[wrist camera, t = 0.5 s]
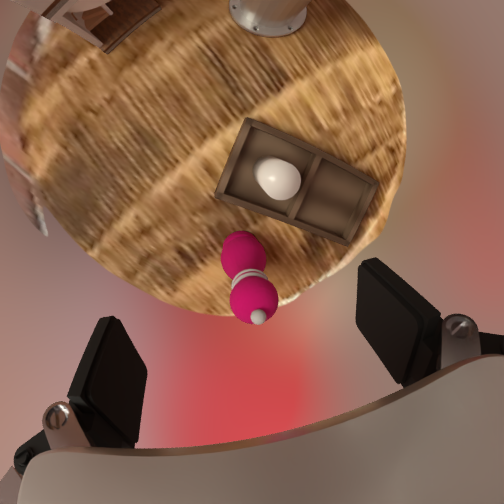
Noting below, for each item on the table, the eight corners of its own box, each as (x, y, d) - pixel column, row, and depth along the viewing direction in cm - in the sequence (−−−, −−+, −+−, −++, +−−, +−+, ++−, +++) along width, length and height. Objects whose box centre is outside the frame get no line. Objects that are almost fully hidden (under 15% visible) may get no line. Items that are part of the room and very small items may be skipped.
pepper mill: (265, 258, 49) (296, 333, 31) (227, 270, 49) (238, 351, 31) (255, 222, 46) (284, 286, 28) (214, 235, 46) (217, 307, 28)
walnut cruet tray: (244, 118, 38) (247, 117, 35) (370, 179, 45) (379, 182, 42) (214, 193, 43) (214, 197, 40) (341, 240, 50) (347, 246, 47)
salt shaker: (259, 150, 40) (271, 155, 32) (288, 162, 41) (306, 171, 33) (247, 179, 42) (256, 192, 34) (276, 190, 43) (291, 205, 35)
